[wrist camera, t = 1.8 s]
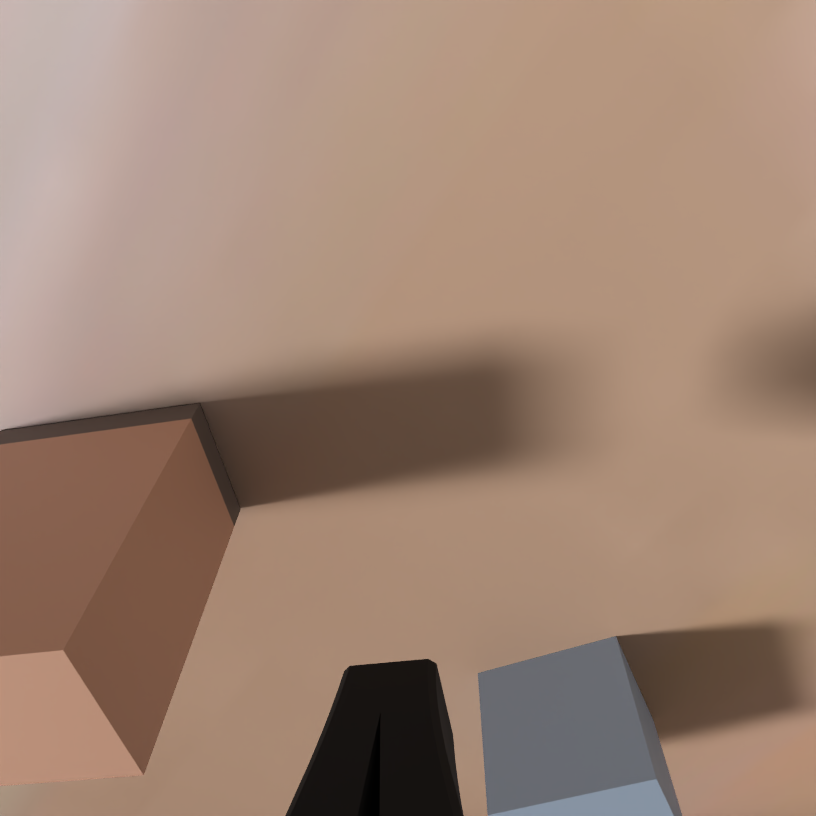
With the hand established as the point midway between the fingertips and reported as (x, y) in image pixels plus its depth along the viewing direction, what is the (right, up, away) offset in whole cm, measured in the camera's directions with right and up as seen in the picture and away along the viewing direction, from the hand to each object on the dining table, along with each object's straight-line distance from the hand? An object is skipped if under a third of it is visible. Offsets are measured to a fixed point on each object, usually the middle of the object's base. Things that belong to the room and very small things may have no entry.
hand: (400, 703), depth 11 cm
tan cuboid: (-7, +3, +7) cm, 11 cm away
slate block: (+5, -5, +12) cm, 14 cm away
